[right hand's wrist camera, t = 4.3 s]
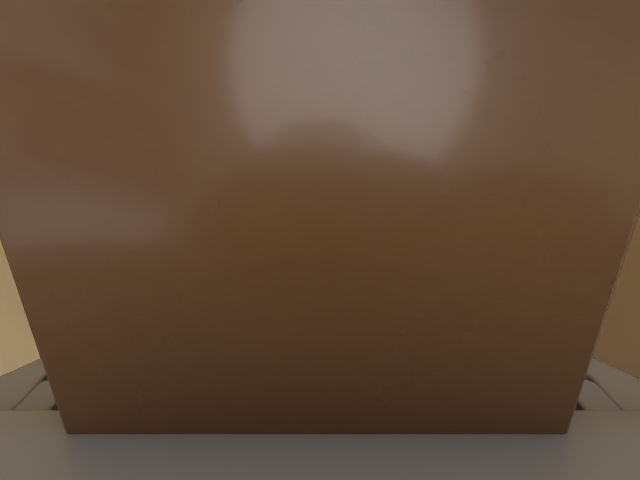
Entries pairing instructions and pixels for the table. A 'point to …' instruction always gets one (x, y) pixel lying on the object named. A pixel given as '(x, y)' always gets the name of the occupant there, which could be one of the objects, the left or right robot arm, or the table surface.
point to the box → (318, 208)
